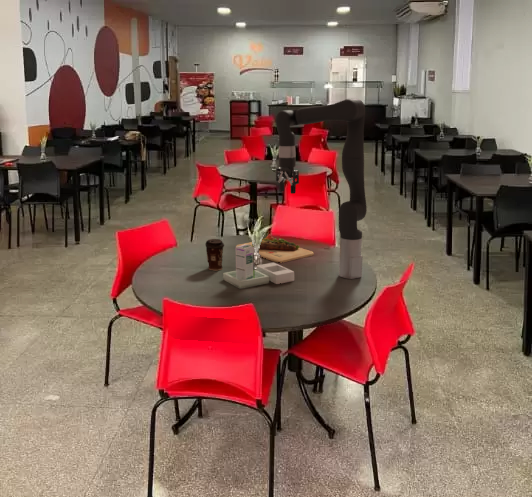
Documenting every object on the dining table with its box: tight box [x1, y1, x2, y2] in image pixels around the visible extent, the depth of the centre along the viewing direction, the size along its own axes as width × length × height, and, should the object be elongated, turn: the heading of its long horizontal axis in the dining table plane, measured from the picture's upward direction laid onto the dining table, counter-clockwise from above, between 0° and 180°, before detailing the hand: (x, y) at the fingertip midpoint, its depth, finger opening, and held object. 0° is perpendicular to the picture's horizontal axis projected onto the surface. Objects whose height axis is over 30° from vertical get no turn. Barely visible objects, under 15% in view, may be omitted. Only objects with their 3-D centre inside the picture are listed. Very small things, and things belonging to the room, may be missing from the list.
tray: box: [222, 269, 270, 290], centre depth 274 cm, size 14×14×3 cm
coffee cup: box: [205, 238, 225, 272], centre depth 290 cm, size 9×8×13 cm
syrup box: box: [235, 243, 256, 281], centre depth 272 cm, size 6×6×14 cm
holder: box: [256, 261, 295, 285], centre depth 279 cm, size 16×9×4 cm, turn 33°
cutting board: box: [235, 233, 315, 264], centre depth 320 cm, size 35×23×8 cm
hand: (287, 192), depth 292 cm, fingers open, 8 cm apart
